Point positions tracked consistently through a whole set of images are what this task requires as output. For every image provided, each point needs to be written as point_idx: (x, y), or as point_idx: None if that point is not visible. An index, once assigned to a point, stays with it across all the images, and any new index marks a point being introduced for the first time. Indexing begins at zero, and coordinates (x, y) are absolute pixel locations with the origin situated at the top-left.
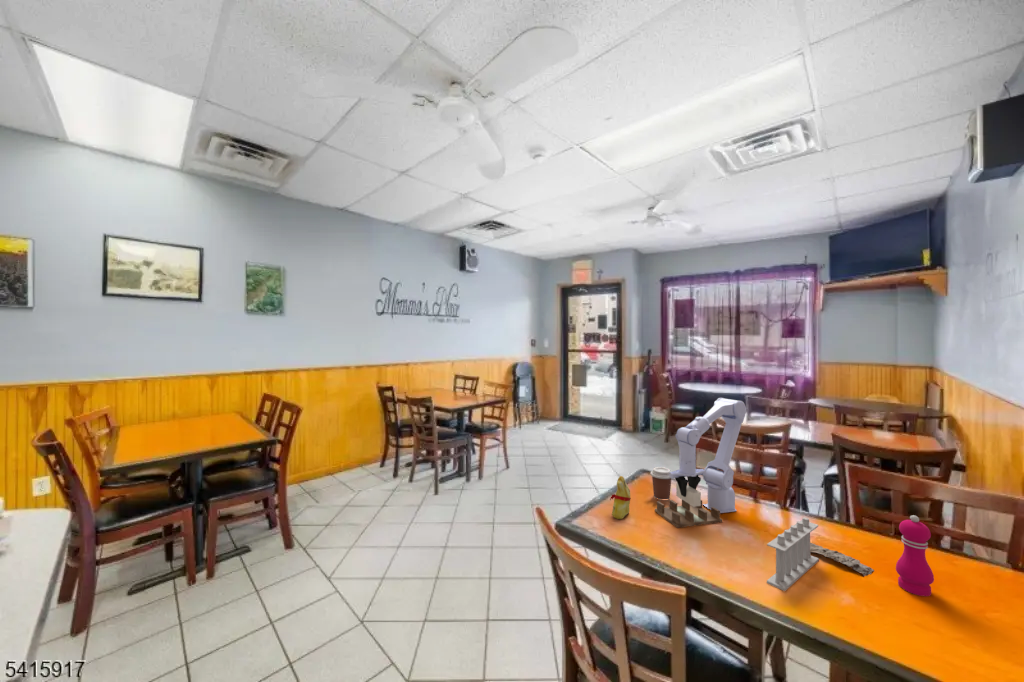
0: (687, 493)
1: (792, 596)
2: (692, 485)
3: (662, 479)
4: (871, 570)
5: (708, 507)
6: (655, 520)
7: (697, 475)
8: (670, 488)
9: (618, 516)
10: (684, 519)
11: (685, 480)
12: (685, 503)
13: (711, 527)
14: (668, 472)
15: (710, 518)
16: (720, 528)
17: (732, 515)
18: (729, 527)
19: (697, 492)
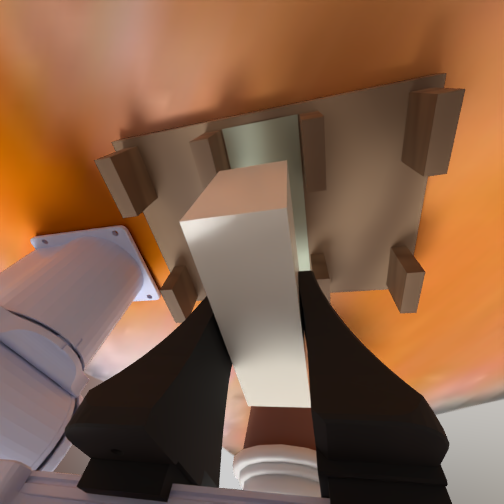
0: (297, 276)
1: None
2: (211, 352)
3: (309, 445)
4: None
5: (143, 273)
6: (487, 190)
7: (93, 481)
8: None
9: None
10: (334, 157)
11: (383, 426)
12: None
13: (205, 70)
14: (269, 490)
15: (174, 158)
16: (154, 51)
17: (57, 205)
18: (97, 64)
19: (221, 224)
